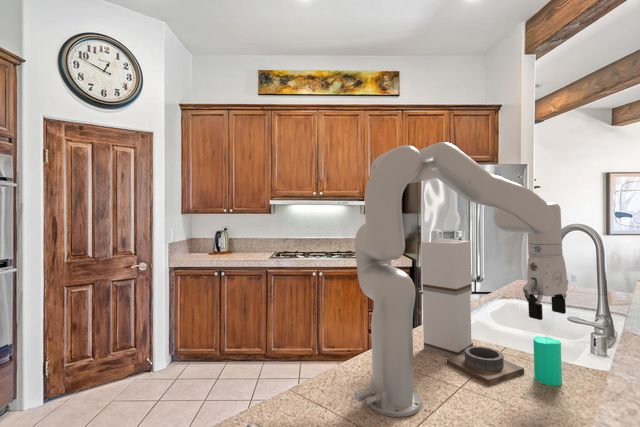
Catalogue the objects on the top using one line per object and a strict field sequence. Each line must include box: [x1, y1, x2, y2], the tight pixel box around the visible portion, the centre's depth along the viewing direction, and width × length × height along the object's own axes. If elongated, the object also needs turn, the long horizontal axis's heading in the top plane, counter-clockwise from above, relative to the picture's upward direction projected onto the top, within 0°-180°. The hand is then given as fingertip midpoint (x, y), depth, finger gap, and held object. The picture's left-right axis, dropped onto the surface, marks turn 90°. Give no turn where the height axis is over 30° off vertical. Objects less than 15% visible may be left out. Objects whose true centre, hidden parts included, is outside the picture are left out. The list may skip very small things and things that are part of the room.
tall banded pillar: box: [420, 239, 474, 358], centre depth 109 cm, size 11×11×35 cm
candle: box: [533, 333, 563, 387], centre depth 88 cm, size 6×6×12 cm
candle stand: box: [446, 345, 525, 386], centre depth 95 cm, size 14×14×4 cm
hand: (547, 315), depth 88 cm, fingers open, 9 cm apart
